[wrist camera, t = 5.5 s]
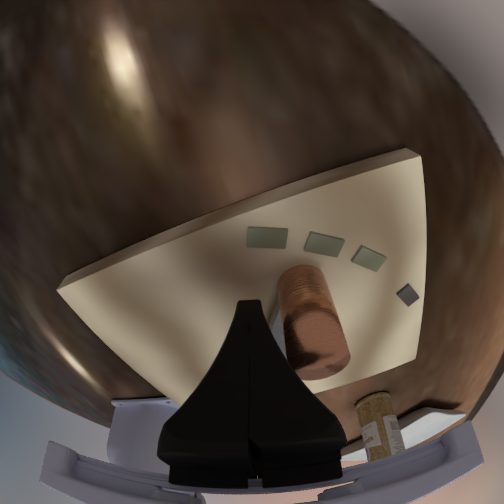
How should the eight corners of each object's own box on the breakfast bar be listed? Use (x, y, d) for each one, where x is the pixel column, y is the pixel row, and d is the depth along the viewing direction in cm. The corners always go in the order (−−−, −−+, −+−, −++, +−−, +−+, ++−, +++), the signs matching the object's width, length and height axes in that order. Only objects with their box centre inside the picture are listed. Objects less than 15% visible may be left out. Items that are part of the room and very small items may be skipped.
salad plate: (325, 447, 40) (328, 463, 37) (424, 395, 30) (431, 414, 28) (386, 446, 47) (388, 457, 44) (463, 401, 37) (468, 414, 34)
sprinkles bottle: (349, 401, 27) (370, 506, 16) (386, 386, 26) (415, 491, 14) (359, 411, 29) (378, 503, 18) (392, 397, 28) (417, 489, 17)
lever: (228, 406, 22) (227, 458, 18) (276, 254, 13) (291, 343, 9) (261, 408, 22) (263, 459, 18) (334, 262, 13) (368, 346, 9)
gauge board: (192, 401, 25) (191, 416, 24) (66, 276, 16) (55, 292, 14) (409, 346, 21) (416, 360, 20) (405, 147, 12) (423, 157, 10)
